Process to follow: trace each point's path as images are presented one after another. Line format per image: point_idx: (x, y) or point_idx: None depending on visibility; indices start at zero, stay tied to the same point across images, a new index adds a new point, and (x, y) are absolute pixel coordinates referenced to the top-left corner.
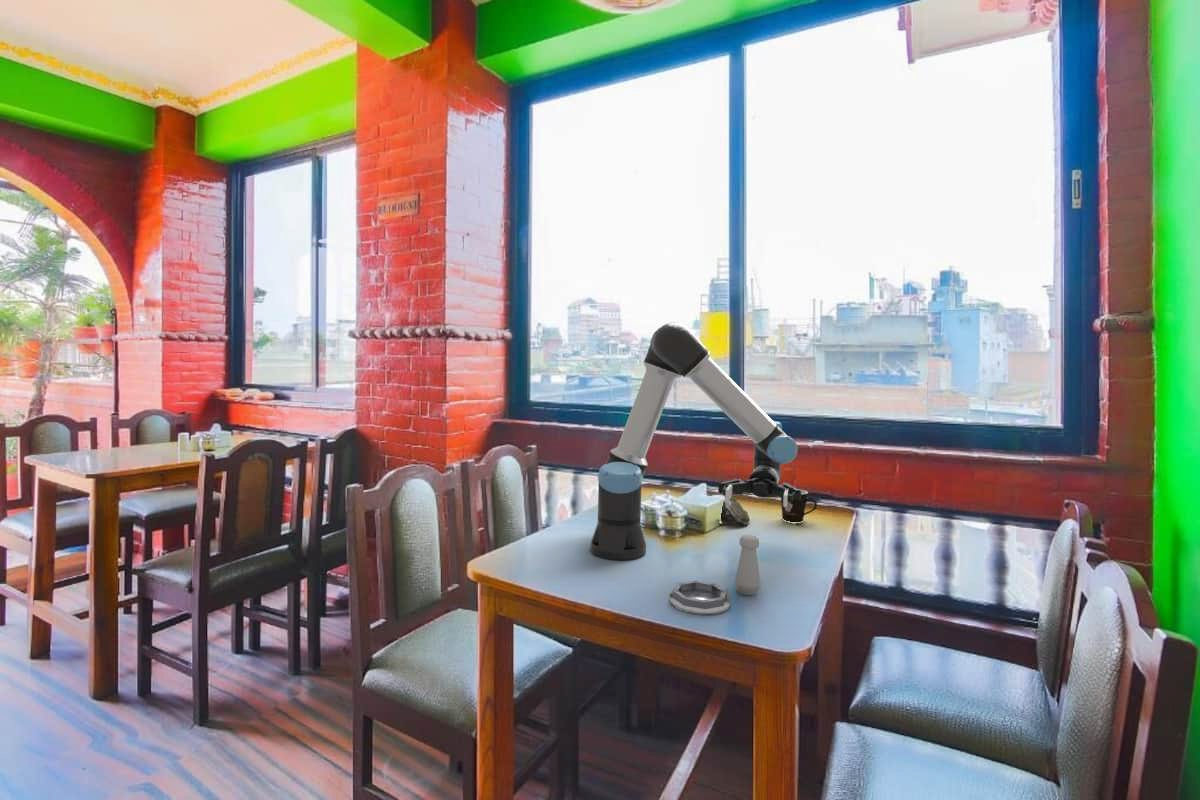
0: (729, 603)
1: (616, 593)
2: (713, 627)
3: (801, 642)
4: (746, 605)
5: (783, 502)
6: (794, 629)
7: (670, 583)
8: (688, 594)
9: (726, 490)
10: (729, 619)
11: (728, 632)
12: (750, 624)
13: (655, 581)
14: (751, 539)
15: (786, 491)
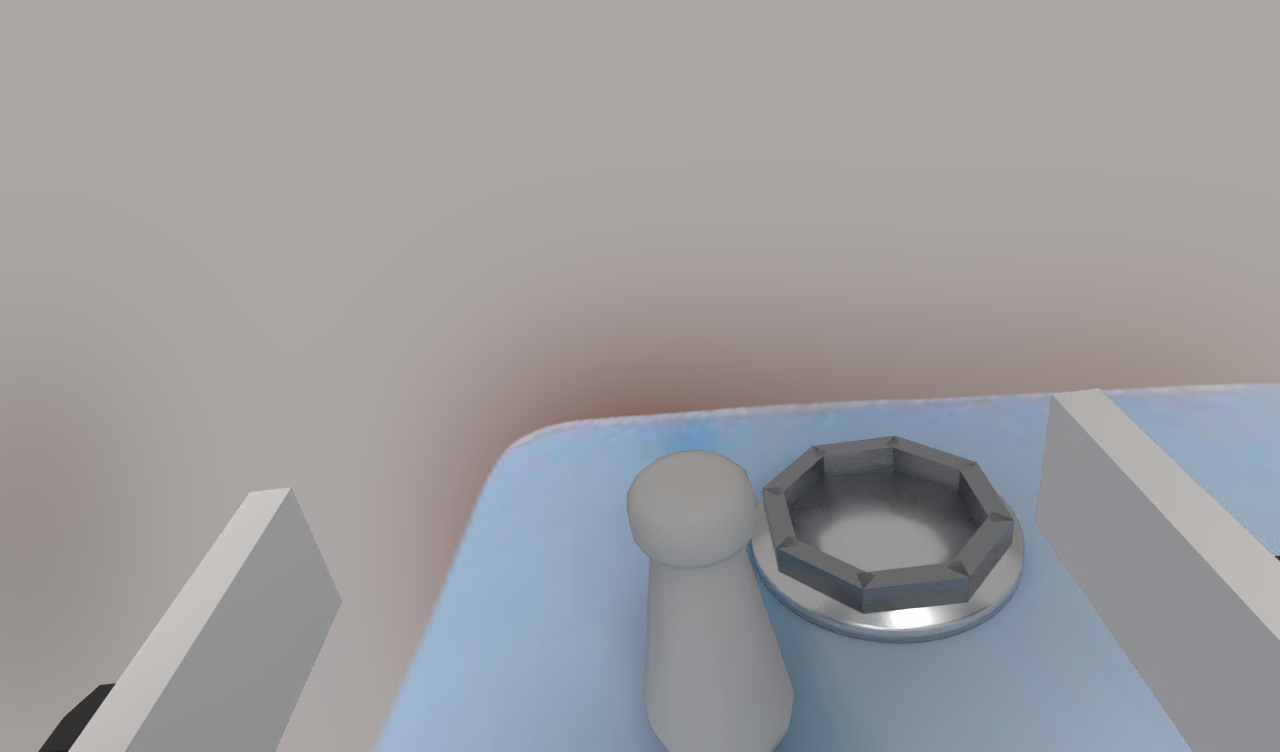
0: (751, 536)
1: (1216, 467)
2: (756, 435)
3: (502, 470)
4: None
5: (323, 563)
6: (513, 520)
7: None
8: (939, 530)
9: (1083, 396)
10: None
11: (706, 433)
12: None
13: None
14: (667, 456)
15: (117, 717)
